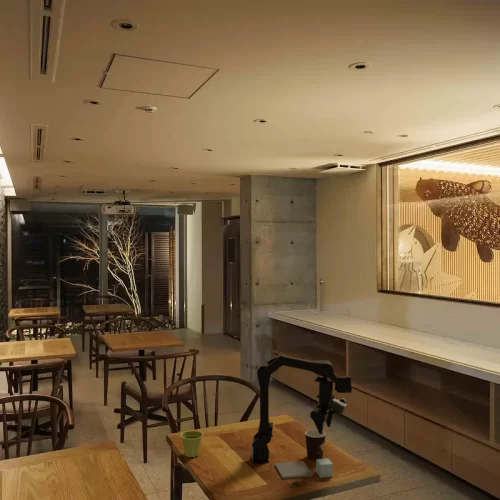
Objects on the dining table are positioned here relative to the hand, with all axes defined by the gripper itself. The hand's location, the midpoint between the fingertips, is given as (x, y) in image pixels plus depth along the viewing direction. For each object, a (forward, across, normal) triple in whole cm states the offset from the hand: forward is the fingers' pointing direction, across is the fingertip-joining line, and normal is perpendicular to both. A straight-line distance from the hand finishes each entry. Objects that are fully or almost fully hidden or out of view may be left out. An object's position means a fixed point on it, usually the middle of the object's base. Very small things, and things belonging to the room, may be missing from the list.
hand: (324, 430), depth 211 cm
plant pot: (+14, -21, +51) cm, 57 cm away
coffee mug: (+14, +4, +4) cm, 15 cm away
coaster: (+13, -13, +8) cm, 20 cm away
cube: (+13, -10, -4) cm, 17 cm away
